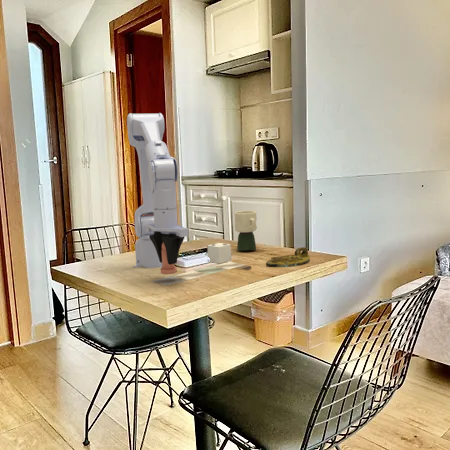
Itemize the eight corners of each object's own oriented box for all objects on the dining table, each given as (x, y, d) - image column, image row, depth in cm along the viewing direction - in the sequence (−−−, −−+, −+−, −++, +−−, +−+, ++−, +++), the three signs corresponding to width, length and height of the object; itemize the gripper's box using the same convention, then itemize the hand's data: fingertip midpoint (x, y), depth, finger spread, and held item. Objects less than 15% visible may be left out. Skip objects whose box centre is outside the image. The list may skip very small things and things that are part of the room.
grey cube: (208, 261, 145) (207, 245, 144) (220, 258, 148) (219, 242, 147) (219, 263, 141) (218, 246, 140) (231, 260, 145) (230, 244, 144)
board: (146, 284, 121) (146, 280, 120) (226, 264, 140) (226, 260, 140) (170, 290, 113) (170, 286, 113) (251, 268, 132) (251, 265, 132)
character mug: (264, 252, 155) (263, 212, 153) (245, 254, 152) (244, 214, 150) (247, 247, 165) (246, 209, 163) (229, 249, 161) (227, 211, 160)
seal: (277, 274, 131) (318, 265, 139) (278, 258, 130) (319, 250, 137) (257, 264, 139) (297, 257, 146) (258, 249, 137) (298, 242, 145)
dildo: (157, 272, 119) (155, 241, 118) (170, 269, 122) (168, 238, 121) (167, 275, 116) (165, 242, 115) (180, 271, 119) (178, 240, 118)
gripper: (134, 208, 119) (138, 261, 121) (170, 211, 109) (173, 270, 111) (157, 205, 124) (160, 256, 126) (193, 208, 114) (196, 264, 116)
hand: (168, 262), depth 119 cm, fingers closed on dildo, 3 cm apart
